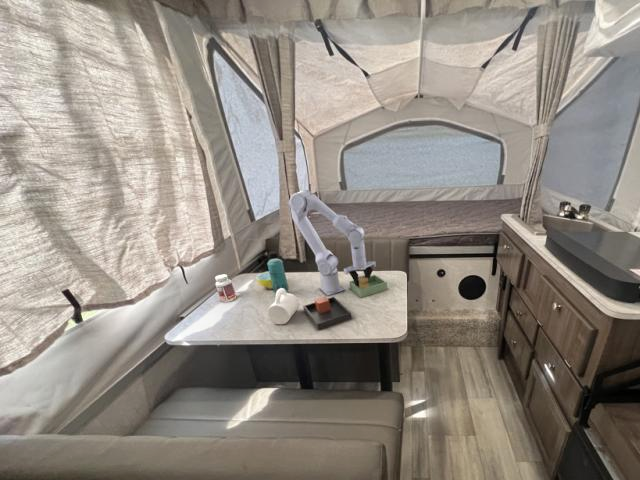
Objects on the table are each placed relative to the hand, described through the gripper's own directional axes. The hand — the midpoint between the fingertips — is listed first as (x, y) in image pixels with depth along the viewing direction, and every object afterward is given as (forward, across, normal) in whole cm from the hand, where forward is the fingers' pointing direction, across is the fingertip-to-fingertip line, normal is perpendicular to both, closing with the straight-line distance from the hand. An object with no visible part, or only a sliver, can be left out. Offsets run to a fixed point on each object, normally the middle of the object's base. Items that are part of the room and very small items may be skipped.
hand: (362, 284), depth 139 cm
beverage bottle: (+3, -31, +19) cm, 36 cm away
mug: (+3, -35, -3) cm, 35 cm away
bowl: (+3, -33, +31) cm, 45 cm away
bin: (+3, +3, 0) cm, 4 cm away
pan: (+3, -21, -11) cm, 24 cm away
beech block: (+1, 0, 0) cm, 1 cm away
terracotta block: (+2, -21, -7) cm, 22 cm away
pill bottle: (+3, -52, +30) cm, 60 cm away
